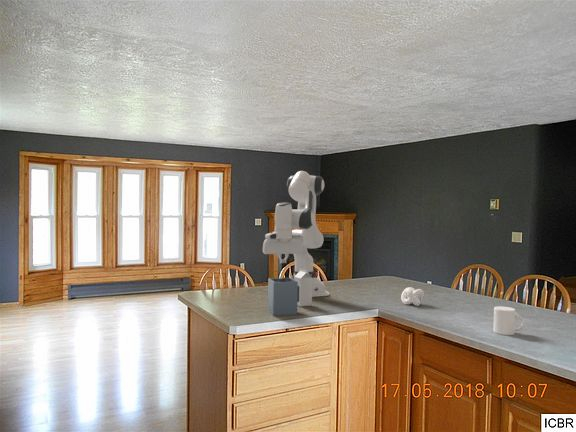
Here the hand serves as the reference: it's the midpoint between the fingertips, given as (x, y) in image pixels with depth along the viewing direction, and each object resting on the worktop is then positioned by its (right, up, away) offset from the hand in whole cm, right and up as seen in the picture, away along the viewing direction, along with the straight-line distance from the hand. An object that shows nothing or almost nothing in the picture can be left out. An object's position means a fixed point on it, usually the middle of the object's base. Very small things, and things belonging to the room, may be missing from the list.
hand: (282, 263), depth 220 cm
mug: (+96, -27, -31) cm, 105 cm away
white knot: (+71, -25, +23) cm, 79 cm away
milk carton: (+10, -25, +18) cm, 32 cm away
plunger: (0, -21, 0) cm, 21 cm away
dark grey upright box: (+1, -24, +1) cm, 24 cm away
